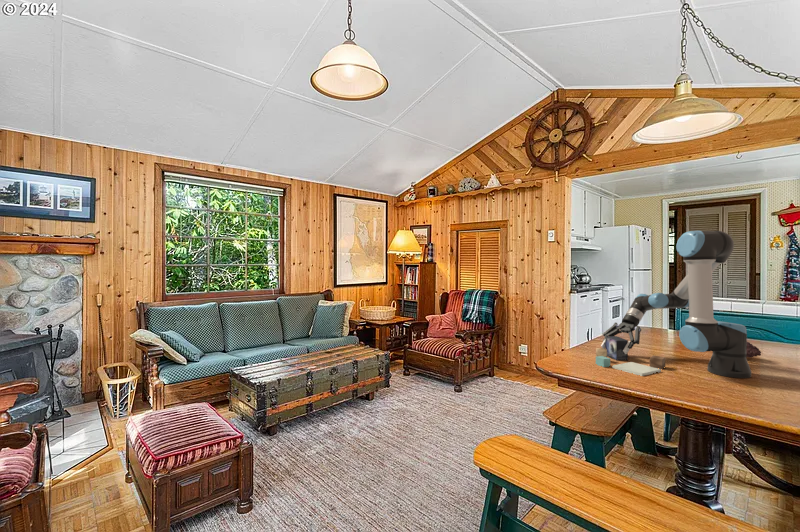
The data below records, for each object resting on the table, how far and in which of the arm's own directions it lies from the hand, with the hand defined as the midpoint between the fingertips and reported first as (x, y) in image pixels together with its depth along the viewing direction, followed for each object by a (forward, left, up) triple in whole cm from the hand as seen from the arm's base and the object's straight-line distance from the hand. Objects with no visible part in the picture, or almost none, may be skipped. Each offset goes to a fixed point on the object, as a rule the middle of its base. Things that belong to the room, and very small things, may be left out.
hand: (613, 350), depth 200 cm
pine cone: (-30, -58, -5) cm, 65 cm away
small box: (0, -2, -5) cm, 5 cm away
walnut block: (-20, -4, -5) cm, 21 cm away
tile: (-18, +9, -4) cm, 21 cm away
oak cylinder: (0, +9, -4) cm, 10 cm away
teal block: (-6, +16, -5) cm, 18 cm away
